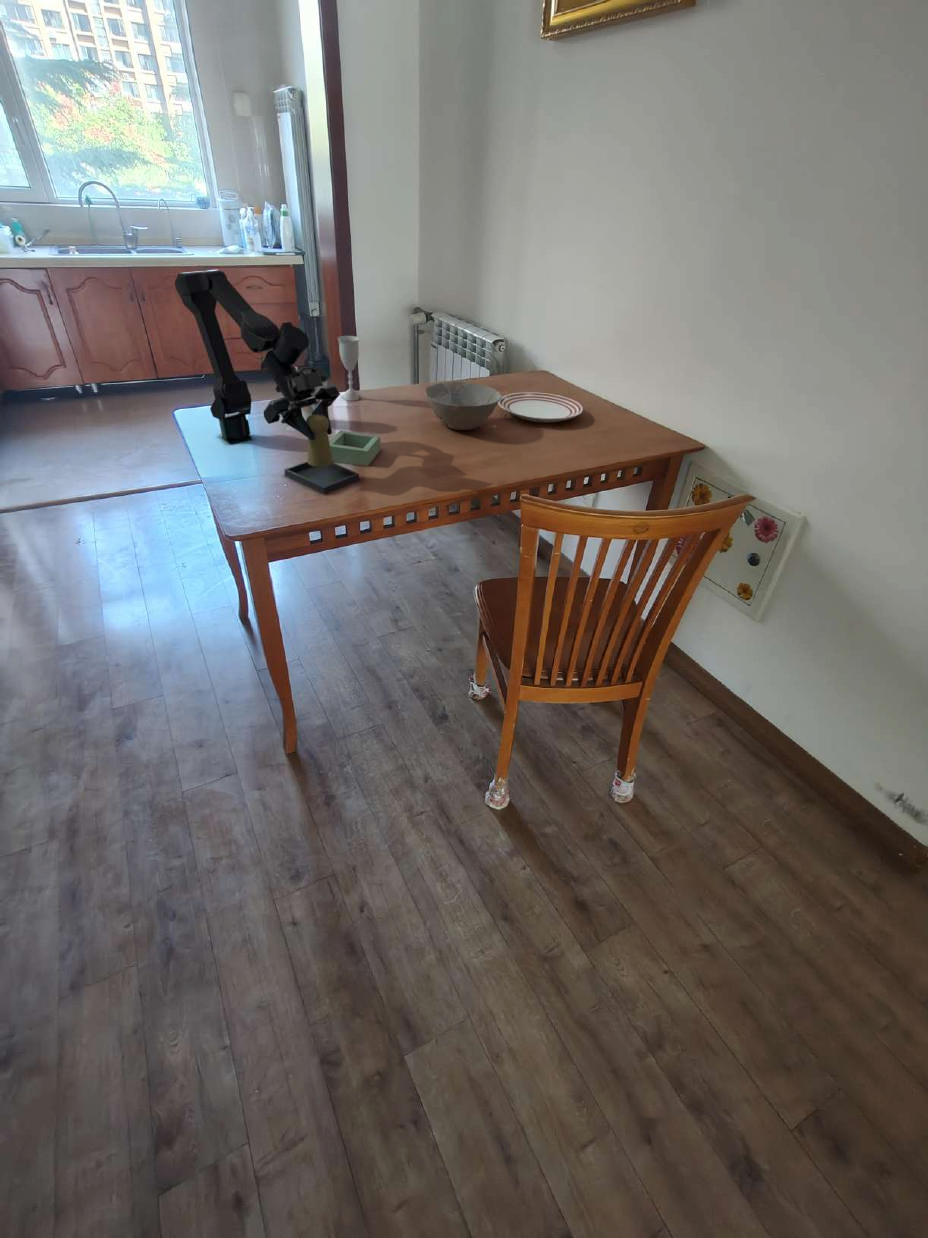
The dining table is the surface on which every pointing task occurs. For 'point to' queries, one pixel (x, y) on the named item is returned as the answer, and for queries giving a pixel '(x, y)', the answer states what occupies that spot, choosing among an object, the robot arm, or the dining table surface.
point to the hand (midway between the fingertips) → (322, 436)
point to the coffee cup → (308, 410)
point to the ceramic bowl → (462, 403)
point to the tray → (322, 476)
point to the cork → (319, 441)
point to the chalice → (349, 361)
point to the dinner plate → (540, 407)
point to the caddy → (354, 447)
